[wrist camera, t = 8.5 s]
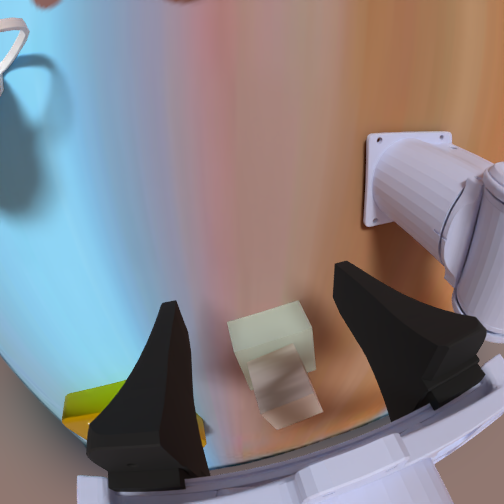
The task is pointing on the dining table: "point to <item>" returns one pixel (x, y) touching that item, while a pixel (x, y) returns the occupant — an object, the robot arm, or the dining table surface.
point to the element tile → (96, 408)
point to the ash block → (283, 387)
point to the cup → (8, 25)
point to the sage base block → (272, 335)
